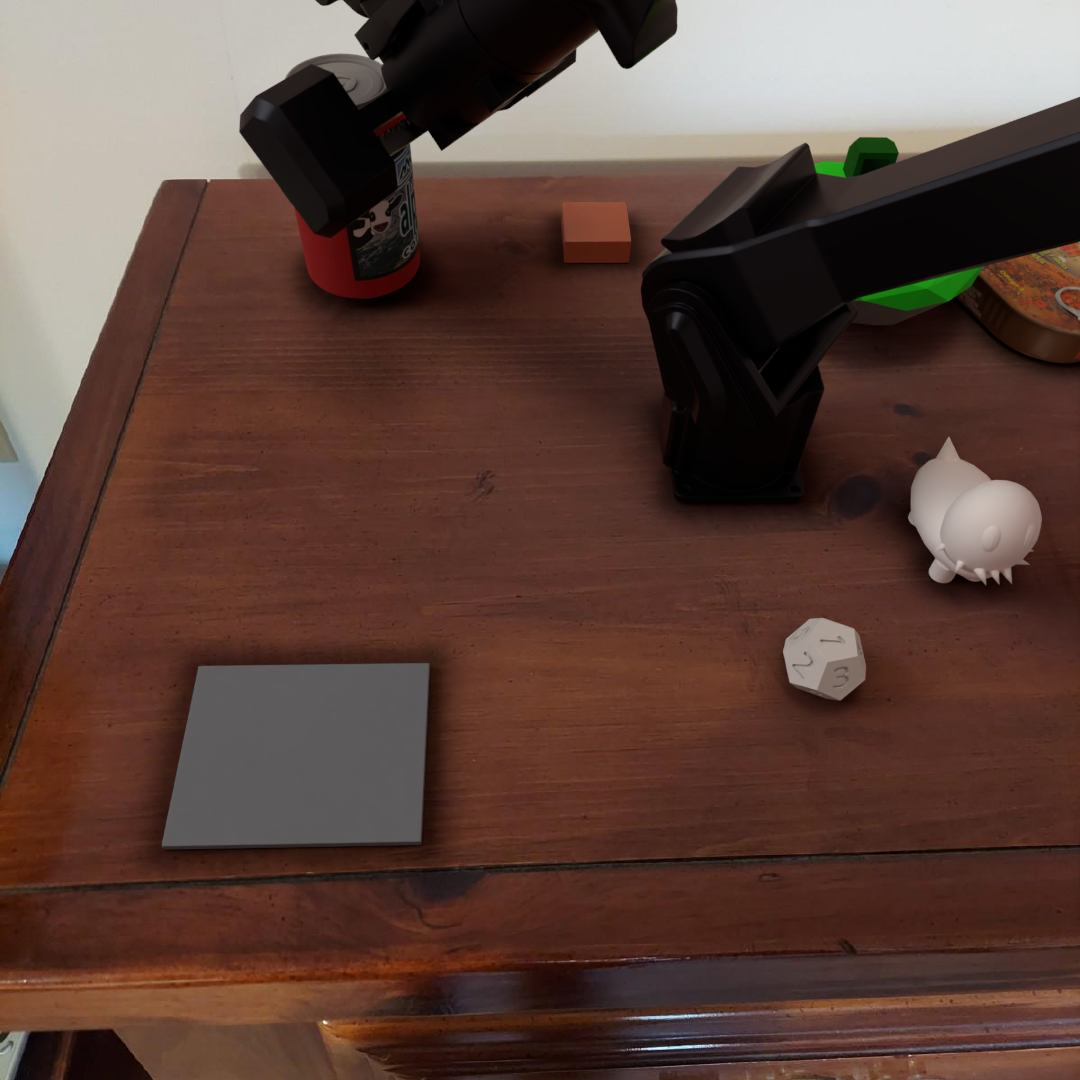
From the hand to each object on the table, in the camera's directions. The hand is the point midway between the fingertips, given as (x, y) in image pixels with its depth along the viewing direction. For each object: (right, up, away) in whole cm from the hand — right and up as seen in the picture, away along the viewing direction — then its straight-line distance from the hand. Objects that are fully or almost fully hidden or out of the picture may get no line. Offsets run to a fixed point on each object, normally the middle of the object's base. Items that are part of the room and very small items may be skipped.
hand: (348, 154), depth 54 cm
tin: (+35, -6, +5) cm, 36 cm away
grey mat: (+1, -30, -13) cm, 32 cm away
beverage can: (0, -5, +6) cm, 8 cm away
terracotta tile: (+14, -2, +8) cm, 16 cm away
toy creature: (+30, -21, -6) cm, 37 cm away
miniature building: (+29, -7, +5) cm, 30 cm away
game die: (+23, -27, -10) cm, 36 cm away
